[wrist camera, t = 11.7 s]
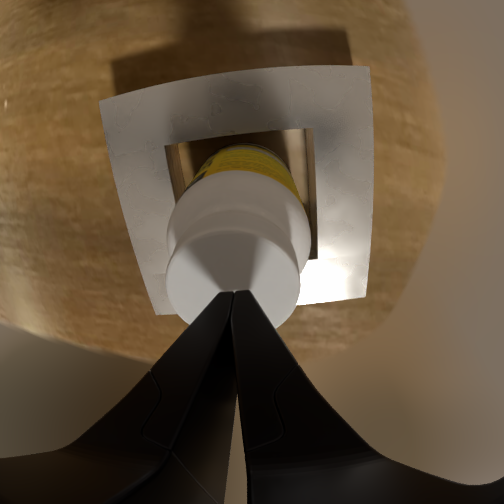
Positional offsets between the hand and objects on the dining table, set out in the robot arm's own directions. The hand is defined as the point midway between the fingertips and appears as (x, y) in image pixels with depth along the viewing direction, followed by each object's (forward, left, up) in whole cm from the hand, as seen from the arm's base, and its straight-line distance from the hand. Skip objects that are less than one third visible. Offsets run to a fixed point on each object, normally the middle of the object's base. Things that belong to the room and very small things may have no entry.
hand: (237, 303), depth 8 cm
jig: (0, 0, -10) cm, 10 cm away
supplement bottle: (0, 0, -10) cm, 11 cm away
